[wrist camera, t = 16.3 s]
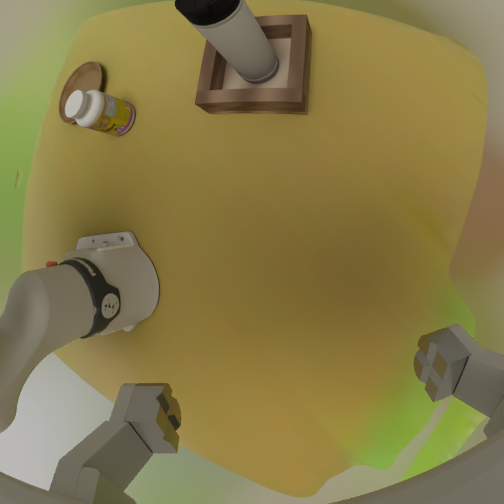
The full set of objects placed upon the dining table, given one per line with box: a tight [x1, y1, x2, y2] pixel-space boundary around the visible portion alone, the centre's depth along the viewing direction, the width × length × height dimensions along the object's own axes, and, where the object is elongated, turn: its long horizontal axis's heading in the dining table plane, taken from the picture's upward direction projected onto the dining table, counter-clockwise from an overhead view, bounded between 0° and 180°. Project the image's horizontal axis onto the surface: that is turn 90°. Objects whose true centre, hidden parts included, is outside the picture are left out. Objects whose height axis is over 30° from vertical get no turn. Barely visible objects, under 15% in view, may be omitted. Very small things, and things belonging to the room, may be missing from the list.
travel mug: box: [175, 0, 279, 84], centre depth 29 cm, size 6×7×20 cm
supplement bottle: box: [65, 90, 135, 136], centre depth 42 cm, size 7×7×13 cm
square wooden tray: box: [195, 15, 312, 115], centre depth 37 cm, size 15×15×5 cm
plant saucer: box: [59, 61, 102, 124], centre depth 50 cm, size 15×15×3 cm
